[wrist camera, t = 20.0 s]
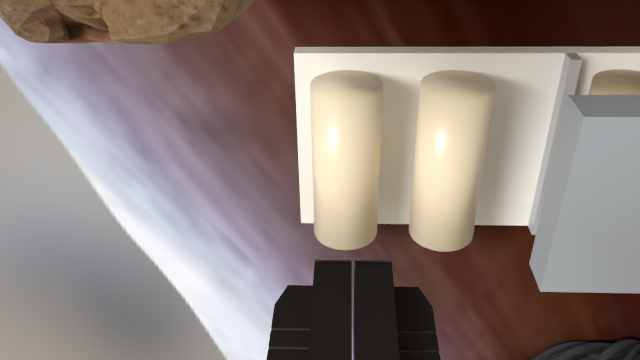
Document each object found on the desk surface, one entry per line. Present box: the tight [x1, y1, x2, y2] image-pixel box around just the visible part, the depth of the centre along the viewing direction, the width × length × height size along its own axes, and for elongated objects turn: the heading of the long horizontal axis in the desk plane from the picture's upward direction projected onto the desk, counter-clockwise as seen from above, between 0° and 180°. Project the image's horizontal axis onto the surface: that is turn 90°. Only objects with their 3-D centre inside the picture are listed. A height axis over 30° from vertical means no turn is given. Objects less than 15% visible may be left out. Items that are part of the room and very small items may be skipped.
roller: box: [588, 69, 640, 95], centre depth 34 cm, size 10×4×4 cm, turn 1°
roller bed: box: [294, 47, 640, 252], centre depth 35 cm, size 12×28×6 cm, turn 91°
